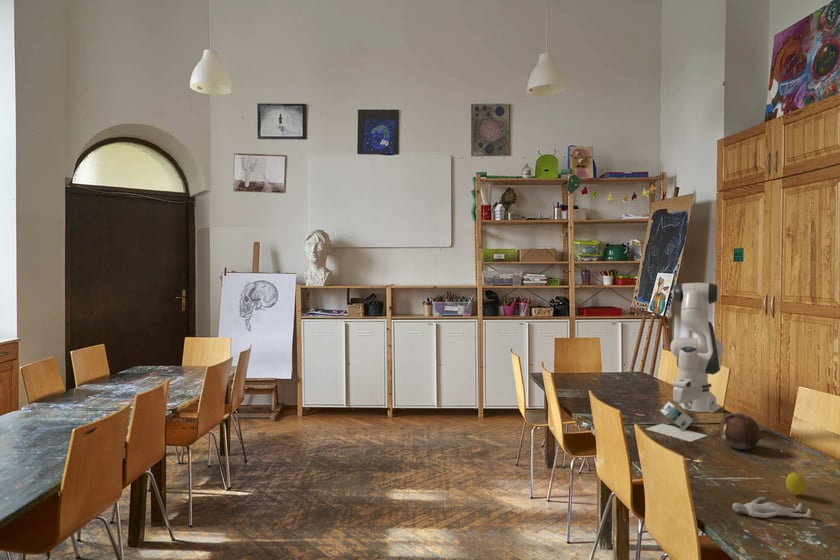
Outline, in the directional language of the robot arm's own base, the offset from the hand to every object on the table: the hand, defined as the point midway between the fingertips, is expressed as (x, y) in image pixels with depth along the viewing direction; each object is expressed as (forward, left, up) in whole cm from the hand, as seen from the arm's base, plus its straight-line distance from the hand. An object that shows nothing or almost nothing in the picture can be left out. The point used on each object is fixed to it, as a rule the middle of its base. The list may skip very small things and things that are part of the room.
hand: (688, 409), depth 247 cm
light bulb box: (0, -1, -7) cm, 7 cm away
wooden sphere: (+8, +27, -10) cm, 30 cm away
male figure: (+63, +60, -10) cm, 88 cm away
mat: (+10, 0, -9) cm, 14 cm away
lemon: (+41, +60, -10) cm, 73 cm away
